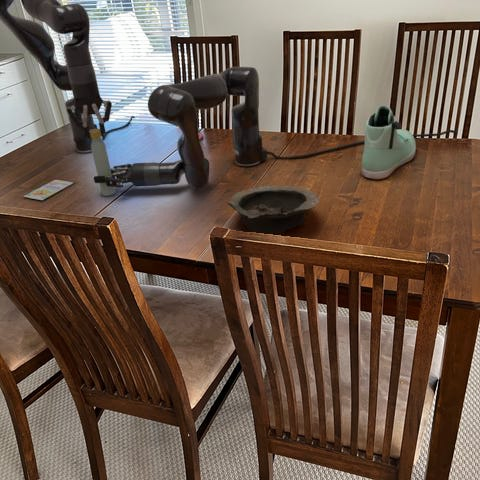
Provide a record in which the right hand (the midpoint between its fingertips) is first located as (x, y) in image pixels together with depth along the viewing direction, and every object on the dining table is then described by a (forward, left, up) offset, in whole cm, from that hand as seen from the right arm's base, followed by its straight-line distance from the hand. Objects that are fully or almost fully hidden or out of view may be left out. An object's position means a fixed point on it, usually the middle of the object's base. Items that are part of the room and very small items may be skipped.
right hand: (97, 176), depth 157 cm
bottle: (-2, +1, -6) cm, 7 cm away
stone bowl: (-42, +46, -6) cm, 62 cm away
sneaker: (-95, +27, -6) cm, 99 cm away
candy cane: (-41, -31, -6) cm, 51 cm away
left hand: (-2, +1, +13) cm, 14 cm away
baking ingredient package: (+16, -12, -6) cm, 21 cm away
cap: (-2, +1, +15) cm, 15 cm away
